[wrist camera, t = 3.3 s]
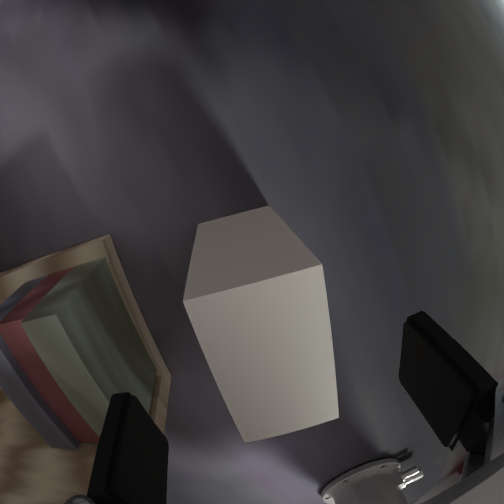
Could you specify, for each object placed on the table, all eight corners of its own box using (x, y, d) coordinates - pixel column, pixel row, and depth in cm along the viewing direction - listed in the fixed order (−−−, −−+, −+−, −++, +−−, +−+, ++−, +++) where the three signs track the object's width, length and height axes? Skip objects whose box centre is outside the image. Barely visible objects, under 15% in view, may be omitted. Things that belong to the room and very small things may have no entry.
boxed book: (268, 205, 19) (322, 264, 9) (291, 313, 22) (338, 417, 12) (198, 223, 19) (182, 301, 9) (231, 330, 21) (244, 443, 12)
